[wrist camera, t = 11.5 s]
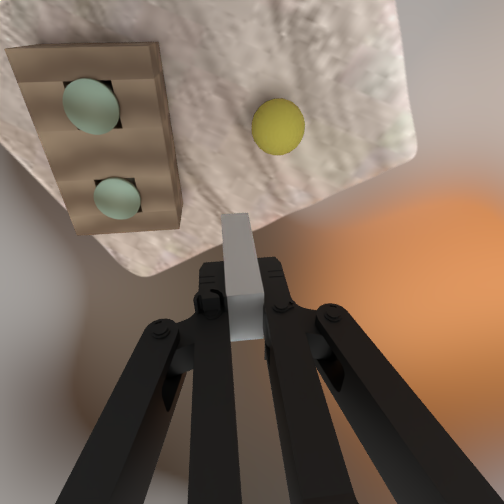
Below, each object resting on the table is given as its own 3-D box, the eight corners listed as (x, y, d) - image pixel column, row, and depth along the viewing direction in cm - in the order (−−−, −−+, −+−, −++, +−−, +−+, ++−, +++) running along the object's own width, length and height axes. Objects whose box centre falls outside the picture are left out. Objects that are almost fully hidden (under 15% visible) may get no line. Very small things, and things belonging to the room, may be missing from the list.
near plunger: (79, 70, 39) (54, 79, 33) (126, 69, 40) (110, 78, 33) (93, 118, 43) (72, 135, 36) (136, 116, 43) (123, 133, 37)
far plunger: (104, 158, 46) (87, 181, 39) (145, 156, 46) (134, 178, 40) (115, 194, 49) (100, 220, 43) (152, 192, 50) (144, 218, 43)
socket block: (38, 44, 38) (4, 48, 32) (158, 41, 39) (148, 45, 33) (94, 208, 51) (77, 235, 45) (183, 203, 52) (179, 228, 46)
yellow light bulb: (236, 116, 45) (242, 136, 37) (271, 77, 43) (285, 90, 35) (268, 148, 49) (280, 173, 41) (302, 114, 46) (322, 134, 38)
